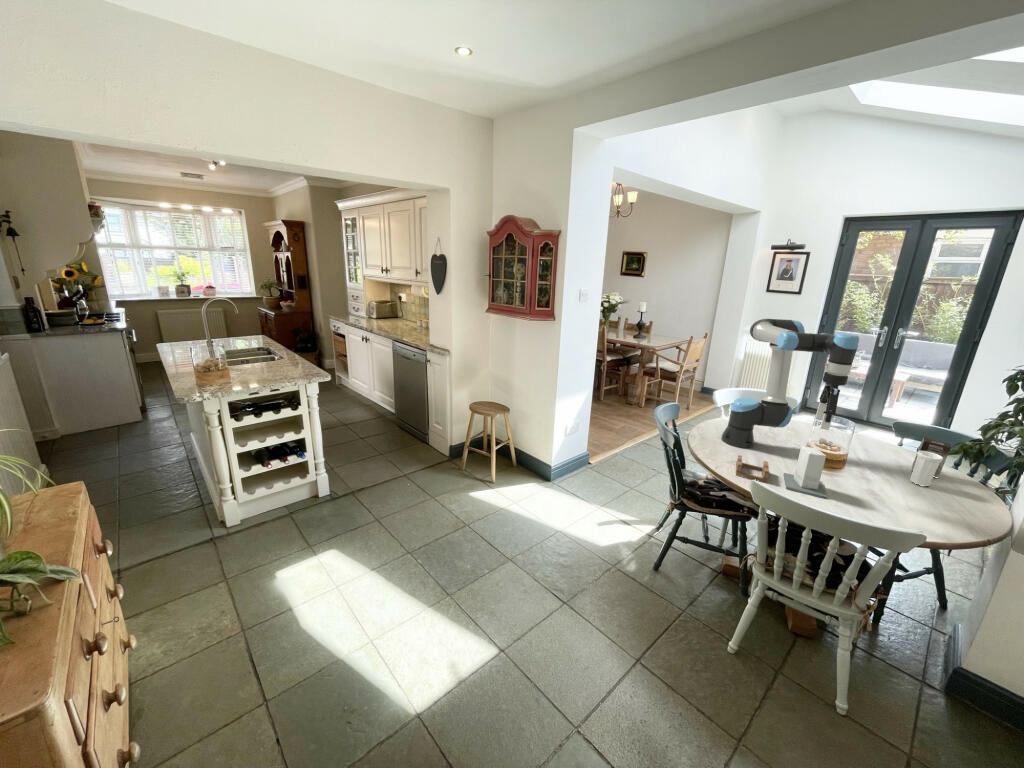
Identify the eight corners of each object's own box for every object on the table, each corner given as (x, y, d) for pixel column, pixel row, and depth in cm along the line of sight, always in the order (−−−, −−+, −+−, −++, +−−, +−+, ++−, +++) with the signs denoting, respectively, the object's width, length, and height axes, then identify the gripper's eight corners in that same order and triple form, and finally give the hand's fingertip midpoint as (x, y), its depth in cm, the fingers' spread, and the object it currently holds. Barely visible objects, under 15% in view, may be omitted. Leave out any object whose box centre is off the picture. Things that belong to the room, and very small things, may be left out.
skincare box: (817, 490, 172) (827, 456, 167) (799, 487, 173) (809, 454, 168) (808, 480, 179) (818, 447, 175) (791, 477, 181) (801, 445, 176)
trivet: (783, 474, 185) (783, 472, 185) (821, 483, 179) (821, 481, 179) (785, 488, 173) (786, 486, 173) (826, 499, 167) (827, 496, 167)
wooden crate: (735, 464, 193) (738, 454, 191) (765, 471, 187) (768, 461, 186) (735, 475, 183) (737, 465, 181) (766, 483, 177) (769, 472, 176)
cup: (925, 481, 185) (936, 452, 181) (936, 490, 178) (947, 460, 174) (902, 477, 188) (913, 449, 183) (912, 486, 180) (924, 456, 176)
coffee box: (911, 471, 193) (923, 440, 189) (911, 467, 198) (922, 436, 193) (938, 479, 188) (951, 447, 183) (937, 474, 192) (950, 443, 187)
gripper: (820, 365, 174) (807, 412, 180) (830, 379, 153) (814, 431, 159) (842, 368, 170) (828, 415, 177) (855, 383, 149) (838, 436, 156)
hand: (821, 423), depth 168 cm, fingers open, 13 cm apart
